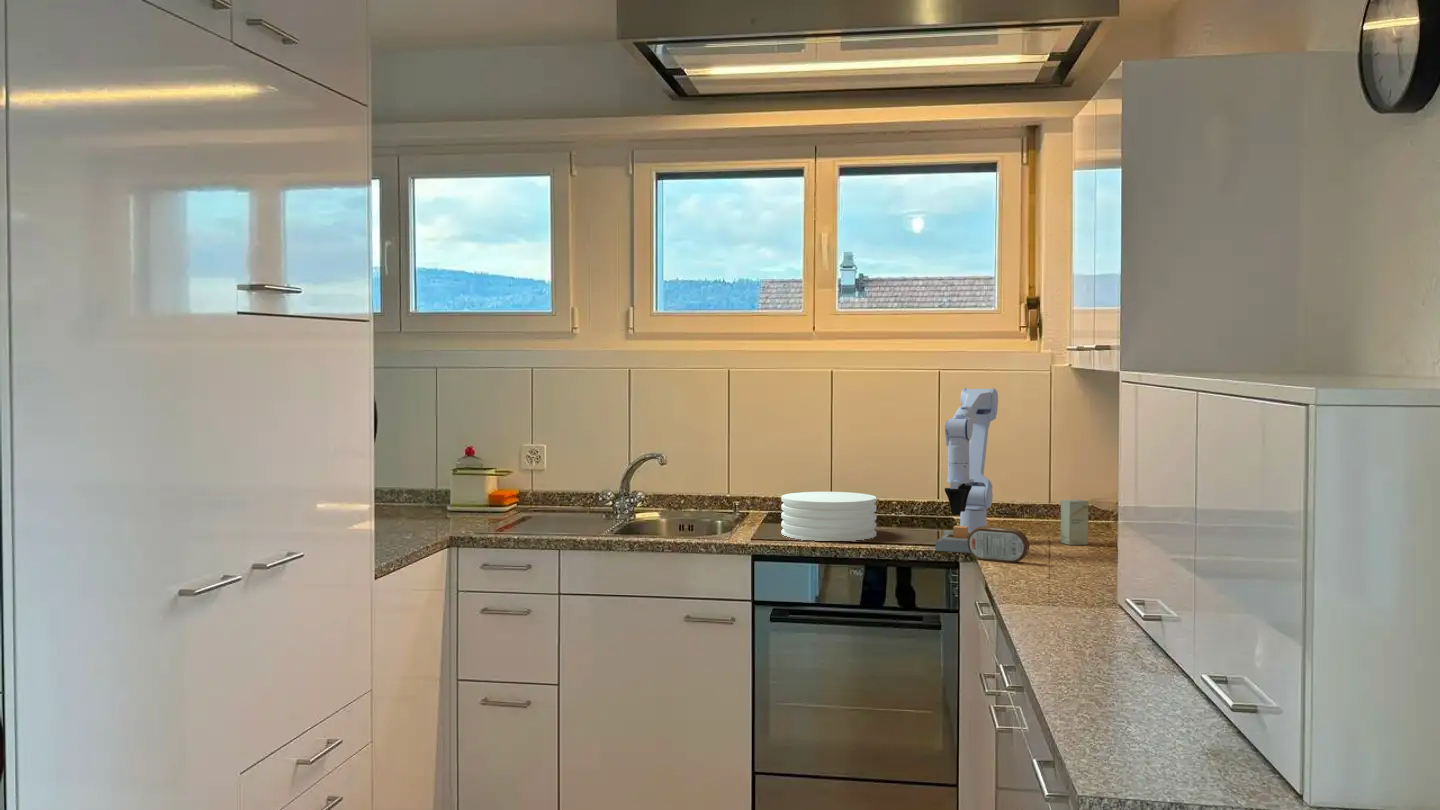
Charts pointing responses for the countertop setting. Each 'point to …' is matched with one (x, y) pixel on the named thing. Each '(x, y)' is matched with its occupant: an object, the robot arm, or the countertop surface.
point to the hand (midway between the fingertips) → (958, 513)
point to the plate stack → (828, 516)
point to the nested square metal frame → (952, 543)
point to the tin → (998, 544)
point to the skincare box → (1074, 522)
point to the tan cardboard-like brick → (960, 532)
